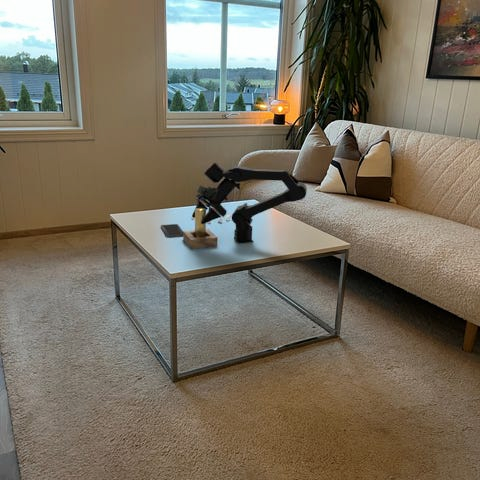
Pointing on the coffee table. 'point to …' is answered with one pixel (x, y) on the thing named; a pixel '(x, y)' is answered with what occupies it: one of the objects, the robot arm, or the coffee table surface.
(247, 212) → the robot arm
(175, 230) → the phone
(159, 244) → the coffee table surface
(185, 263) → the coffee table surface
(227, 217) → the game piece set
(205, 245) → the socket block
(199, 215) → the peg
